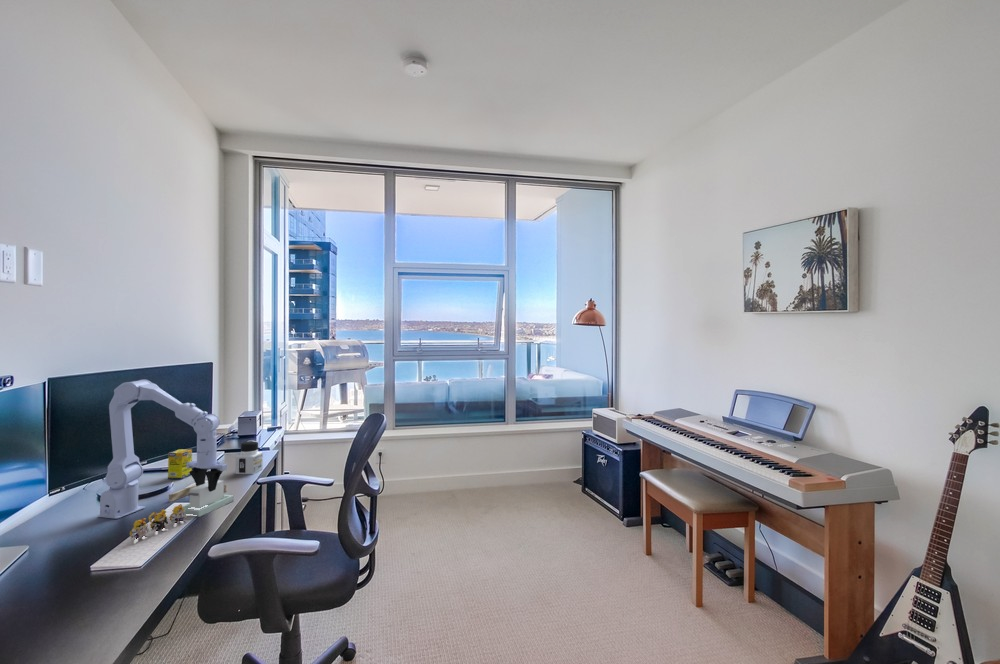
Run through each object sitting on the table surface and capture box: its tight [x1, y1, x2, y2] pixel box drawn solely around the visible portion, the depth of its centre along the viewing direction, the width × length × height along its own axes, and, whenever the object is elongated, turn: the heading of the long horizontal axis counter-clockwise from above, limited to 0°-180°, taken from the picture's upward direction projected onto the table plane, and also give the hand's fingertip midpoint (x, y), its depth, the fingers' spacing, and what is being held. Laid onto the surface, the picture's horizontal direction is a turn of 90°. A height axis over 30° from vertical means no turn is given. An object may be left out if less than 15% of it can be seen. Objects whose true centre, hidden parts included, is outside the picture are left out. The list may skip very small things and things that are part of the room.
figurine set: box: [129, 504, 188, 540], centre depth 137 cm, size 3×16×7 cm, turn 162°
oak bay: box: [168, 484, 227, 503], centre depth 166 cm, size 13×12×2 cm
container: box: [235, 440, 264, 475], centre depth 196 cm, size 8×8×13 cm
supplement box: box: [167, 448, 193, 480], centre depth 188 cm, size 6×6×11 cm
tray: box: [182, 494, 235, 518], centre depth 156 cm, size 15×9×2 cm, turn 168°
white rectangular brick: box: [188, 479, 225, 508], centre depth 156 cm, size 11×4×6 cm, turn 168°
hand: (206, 490), depth 156 cm, fingers closed on white rectangular brick, 4 cm apart
